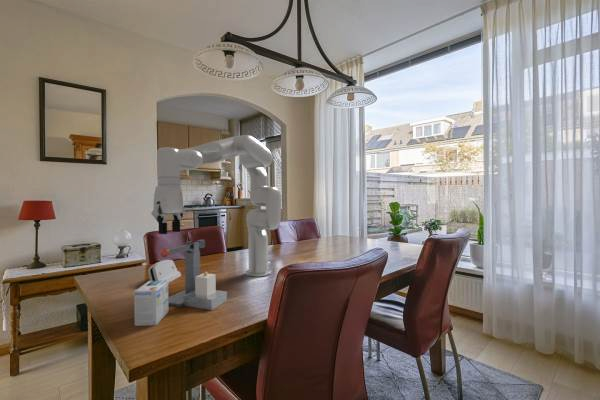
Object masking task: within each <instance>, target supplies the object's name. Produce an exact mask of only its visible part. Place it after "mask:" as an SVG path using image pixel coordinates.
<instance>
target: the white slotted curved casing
mask: <svg viewBox="0 0 600 400" xmlns="http://www.w3.org/2000/svg"><path fill="white" fill-rule="evenodd" d="M147 273H148V278H149V281H162V280H168V284H169V283H171V282H173V281H174V280H176V279H178V278H180V277H182V274H181V271H179V270H178V268H177V267H176V264H175V262H174V260H172V259H163V260H160V261H158V262H156V263H154V264H153V265H150V267H149V268H148V270H147Z"/></svg>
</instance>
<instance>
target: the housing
mask: <svg viewBox="0 0 600 400" xmlns="http://www.w3.org/2000/svg"><path fill="white" fill-rule="evenodd" d="M216 275H217V274H215V273H208V272H207V271H203V273H200V275H198V276H196V277H195V295H200V296H209V295H211V294H213V293H215V292H216V290H217V289H216V287H217V285H216V284H217V280H216V279H217V277H216Z"/></svg>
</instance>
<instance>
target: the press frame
mask: <svg viewBox="0 0 600 400" xmlns="http://www.w3.org/2000/svg"><path fill="white" fill-rule="evenodd" d="M191 243H193V249H190V250H186V251H185V252H184V261H185V262H184V271H185V272H184V273H185V274H184V279H185V280H184V281H185V289H184V290H182V291H180V292H177V293H175V294H172V295H171V296H168V306H171V307H176V308H177V307H178V308H181V307H183V306H184V307H185V306H186V307H190V308H191V307H192V308H195V309H202V310H203V309H204V310H209V311H210V310H211V311H213V310H215V309H216V308H217V307H220V306H221V305H223V304H225V303H226V302H228V301H227V300H228V293H227V292H228V291H226V290H217V289H216V292H215V293H213V294H211V295H209V296H200V295H195V277H196V276H198V275H201V251H200V248H199V242H196V241H195V242H193V240H191V241H187V242H186V241H185V245H186V244H191Z"/></svg>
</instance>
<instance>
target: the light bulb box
mask: <svg viewBox="0 0 600 400" xmlns="http://www.w3.org/2000/svg"><path fill="white" fill-rule="evenodd" d="M133 296H134V298H133V299H134V300H133V301H134V302H133V303H134V309H133V310H134V326H135V327H137V326H139V327H141V326H147V325H148V326H157V325H158V324H159V323H160V322H161V321H162V319H163V318H164V317H165V316H166V315H167V314H168V313H169V306H170V305H168V297H169V283H168V280H162V281H150V280H148V281H146V282H145V283H144V284H143V285H141V286H140V287H139V288H137V289H136V290H134V292H133ZM148 326H147V327H148Z"/></svg>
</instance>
